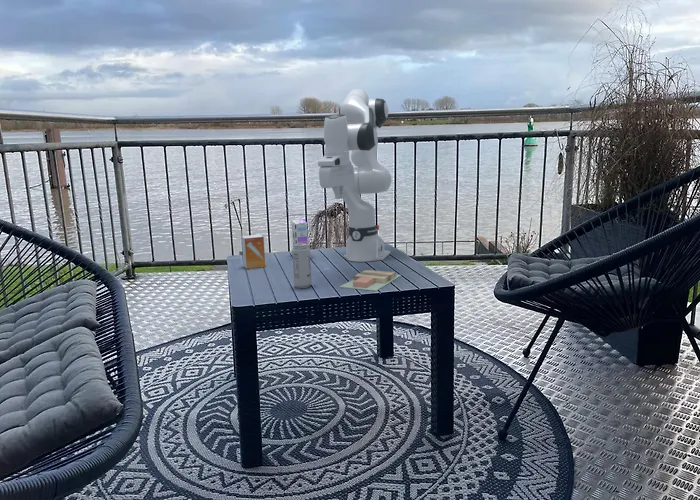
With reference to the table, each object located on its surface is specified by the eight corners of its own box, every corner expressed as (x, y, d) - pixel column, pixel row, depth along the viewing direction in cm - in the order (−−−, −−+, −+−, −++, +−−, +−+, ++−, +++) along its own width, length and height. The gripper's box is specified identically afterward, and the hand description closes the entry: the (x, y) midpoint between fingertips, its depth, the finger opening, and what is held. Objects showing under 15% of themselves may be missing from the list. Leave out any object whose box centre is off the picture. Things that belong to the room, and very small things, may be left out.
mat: (367, 272, 198) (367, 272, 198) (401, 275, 192) (401, 275, 192) (339, 287, 179) (339, 286, 179) (376, 291, 173) (376, 290, 173)
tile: (362, 281, 185) (361, 276, 184) (374, 282, 182) (374, 277, 182) (353, 286, 179) (352, 281, 178) (366, 287, 176) (365, 282, 176)
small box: (246, 269, 213) (244, 238, 211) (243, 266, 219) (241, 236, 216) (266, 267, 216) (263, 236, 214) (262, 264, 222) (260, 234, 219)
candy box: (310, 260, 226) (308, 222, 223) (296, 261, 225) (294, 223, 222) (305, 254, 239) (303, 218, 236) (293, 255, 238) (290, 219, 235)
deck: (366, 274, 195) (366, 269, 195) (395, 277, 190) (395, 272, 189) (354, 281, 187) (353, 276, 186) (384, 284, 181) (384, 278, 181)
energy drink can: (312, 287, 180) (309, 245, 178) (294, 289, 180) (292, 246, 177) (310, 283, 186) (308, 242, 183) (294, 284, 185) (291, 243, 183)
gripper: (343, 159, 198) (344, 195, 201) (315, 161, 180) (317, 201, 183) (358, 159, 195) (359, 195, 198) (331, 161, 177) (332, 201, 180)
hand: (339, 198), depth 190 cm, fingers closed
